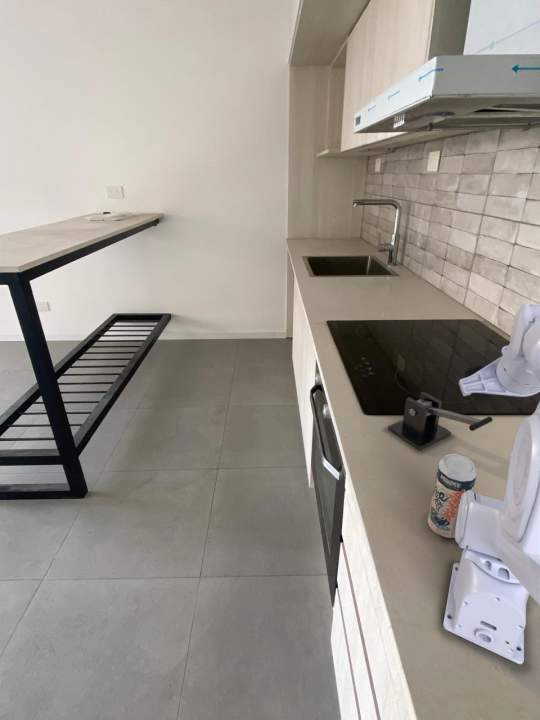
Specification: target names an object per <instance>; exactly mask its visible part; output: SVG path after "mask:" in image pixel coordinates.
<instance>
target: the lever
mask: <svg viewBox="0 0 540 720" xmlns="http://www.w3.org/2000/svg"><path fill="white" fill-rule="evenodd" d="M416 401H417V402H419V403H421V404H422V405H424V406H426V407H428V410H427V416H428V415H431V414H434V415H437V416H439V417H440V418H441V417H442V418H445V419H447V420H452V421H455V422H459V423H462V424H466V425H469V426H468V429H469V431H471V432H474V431H476V430H479V429H480V428H482V427H484V426H486V425H488V424H491V423H492V422H493V418H492V416H487V417H485V418H483V419H480V418H477V417H474V416H469V415H465V414H461V413H458V412H454V411H450V410H446V409H443V408H441V409H438V408H435V407H432V402H430V401H425V400H421V399H420V398H419V399H418V400H416Z"/></svg>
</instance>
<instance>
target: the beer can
mask: <svg viewBox="0 0 540 720" xmlns="http://www.w3.org/2000/svg"><path fill="white" fill-rule="evenodd" d="M437 464H438V465H437V469H436V474H435V480H434V485H433V491H432V496H431V501H430V505H429V510H428V515H427V524H428V526H429V527H430V530H432V531H433V532H434V533H435V534H437V535H439V536H441V537H443V538H446V539H447V538H448V539H452V538H454V539H455V530H456V521H457V515H458V509H459V504H460V500H461V496H462V494H463V493H465V492H467V490H471V491H473V492H474V488H475V484H476V481H477V476H478V471H477V468H476V466H475V464H474V461H473V460H471V459H470V458H468V457H467V456H465V455H462V454H459V453H448V454H446V455H445V456H444V457H443V458H441V460H439V461H438V463H437Z"/></svg>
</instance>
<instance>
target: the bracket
mask: <svg viewBox="0 0 540 720" xmlns="http://www.w3.org/2000/svg"><path fill="white" fill-rule="evenodd" d="M420 399H421V400H425V401H430V402H432V407H435V408H438V409H442V405H443V401H442V400H441V399H439V398H437V397H435V396H433V395H431V394H429V393H427V392H425V391H422V392H420V394H419V400H420ZM427 410H428V407H426V406H424V405H422V404H421V403H419V402H417V400H415V399H414V398H412V397H407V398H406V399H405V405H404V412H403V418H402V420H399V421H398V422H395V423H392V424H390V425H388V426H387V431H388V432H390V433H391V434H392V435H395V436H396V437H398V438H399V439H400V440H402V441H404V442H405V443H406V444H407V445H409V446H411V447H412V448H414V449H415V450H417V451H418V452H420V451H422V450H424V449H426V448H428V447H431V446H433V445H434V444H436V443H438V442H440V441H442V440H445V439H447V438H449V437H451V435H452V431H451V430H448V429H447V428H445V427H443V426H442V425H440V424H439V421H440V416H437V415H434V414H431V415H428V416H427Z"/></svg>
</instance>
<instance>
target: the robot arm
mask: <svg viewBox="0 0 540 720" xmlns="http://www.w3.org/2000/svg"><path fill="white" fill-rule="evenodd" d="M511 327H512V328H511V331H510V332H511V333H510V340H509V344H508V345H504V346H503V347H502V348H501V354H502V355H501V356H500V357H498V358H497V359H495V360H494V361H492V362H491V363H489V364H487V365H486V366H484V367H483V366H482V365H481V364H480V365H476V366H470V367H468V368H467V369H465V371H464V373H463V376H464V377H463V378H460V379H459V381H458V386H459V389H460V391H461V394H462V396H463V397H468V396H471V399H472V402H473V403H474V405H475V406H476V407H480V408H481V407H487V406H492V405H495V404H496V403H495V400H494V398H493V395H494V396H495V395H498V396H508V397H518V398H519V397H520V398H527V397H532V396H534V395H536V394H539V393H540V304H534V303H531V304H529V303H521V305H520V306H519V308H518V310H517V311H516V314H515V317H514V320H513V324H512V326H511ZM515 434H516V435H515V439H514V440H513V444H512V449H511V454H510V458H509V464H508V471H507V479H506V482H507V483H506V486H505V492H504V496H503V500H502V499H499V498H495V497H492V496H488V495H484V494H480V493H477V492H475V491H474V490H473V491H471V490H467V492H465V493H463V494H462V496H461V500H460V504H459V509H458V515H457V521H456V530H455V538H454V539H455V541H456V543H457V545H458V547H459V548H460V549H462V553H461V556H460V561H459V562H455V563H453V566H452V572H451V577H450V581H449V587H448V595H447V600H446V606H445V612H444V617H443V623H442V626H443V628H444V629H445V631H448V632H450V633H452V634H454V635H456V636H459V637H460V638H463V639H464V640H467V641H469V642H471V643H472V644H473V643H474V644H475V645H477V646H479V647H482V648H483V649H486V650H488V651H490V652H492V653H494V654H496V655H498V656H501V657H503V658H505V659H507V660H509V661H512V662H513V663H515V664H517V665H523V664H524V661H525V629H526V625H527V603H528V600H529V597H530V596H531V597H532V598H533V600H534V601H535V602H536V603H537V605H539V606H540V401H539V402H538V404H537V406H536V408H535V411H534V412H533V413H532V414H531V415H529V416H527V417H526V418H524V419H523V420H522V421H521V423H520V425H519V427H518V428H517V432H516V433H515Z"/></svg>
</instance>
